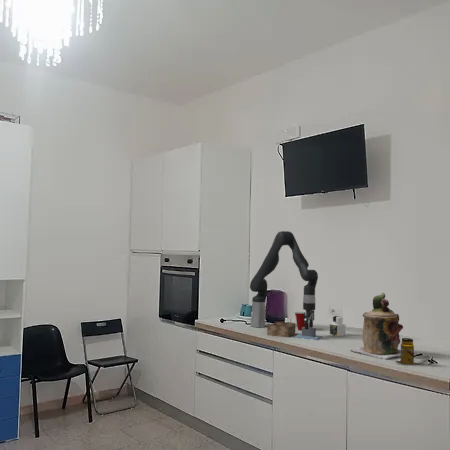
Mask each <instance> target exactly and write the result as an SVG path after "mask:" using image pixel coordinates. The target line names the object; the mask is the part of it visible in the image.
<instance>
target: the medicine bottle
mask: <svg viewBox="0 0 450 450" xmlns="http://www.w3.org/2000/svg"><path fill="white" fill-rule="evenodd" d="M343 320H344V319H343V317H342V316H340V315H334V316H333V317H332V323H329V335H330V334H331V335H330V336H333V335H335V337H344V336H343V335H345V336H346V327H347V326H346V324H345V323H343V322H344V321H343Z"/></svg>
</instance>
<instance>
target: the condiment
mask: <svg viewBox="0 0 450 450" xmlns="http://www.w3.org/2000/svg"><path fill="white" fill-rule="evenodd" d="M400 350H401V356H400V360H394V362H395V364H397V365H403V366H405V365H406V366H414V365H413V364H415V362H414V361H415V360H414V359H415V345H414V339H413V338H409V337H403V338H401V342H400Z"/></svg>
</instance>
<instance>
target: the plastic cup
mask: <svg viewBox="0 0 450 450" xmlns="http://www.w3.org/2000/svg"><path fill="white" fill-rule="evenodd" d="M294 315H295V321H296V326H297V330H298V331H302V327H305V323H304V322H303V320H304V311H302V312H301V311H295V312H294ZM306 321H307V320H306Z"/></svg>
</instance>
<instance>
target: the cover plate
mask: <svg viewBox="0 0 450 450" xmlns="http://www.w3.org/2000/svg"><path fill="white" fill-rule="evenodd" d="M316 329H317V328H316V327H312V328H311V327H309V329H308V330H307V329H305V327H302V330H301V333H299V334H297V335H296V334H295V336H294V338H295V339H301V338H304V339H303V340H310V339H313V340H312V341H318V340H320V339H322V338H323V335H319V334H317V332H316V331H317V330H316Z"/></svg>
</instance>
